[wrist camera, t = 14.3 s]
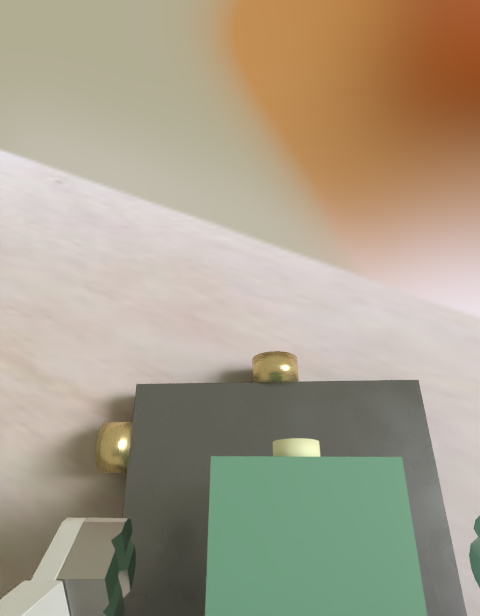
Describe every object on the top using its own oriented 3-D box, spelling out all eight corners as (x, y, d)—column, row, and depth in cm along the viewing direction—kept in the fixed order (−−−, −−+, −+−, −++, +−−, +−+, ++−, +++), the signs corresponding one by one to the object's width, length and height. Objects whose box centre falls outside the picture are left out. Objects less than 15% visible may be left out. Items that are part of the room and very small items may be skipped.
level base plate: (401, 364, 19) (416, 349, 18) (476, 752, 13) (510, 789, 12) (122, 369, 20) (109, 354, 18) (73, 749, 14) (46, 784, 12)
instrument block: (333, 466, 16) (397, 427, 9) (346, 612, 14) (443, 712, 7) (231, 466, 16) (212, 427, 9) (228, 610, 14) (201, 707, 7)
